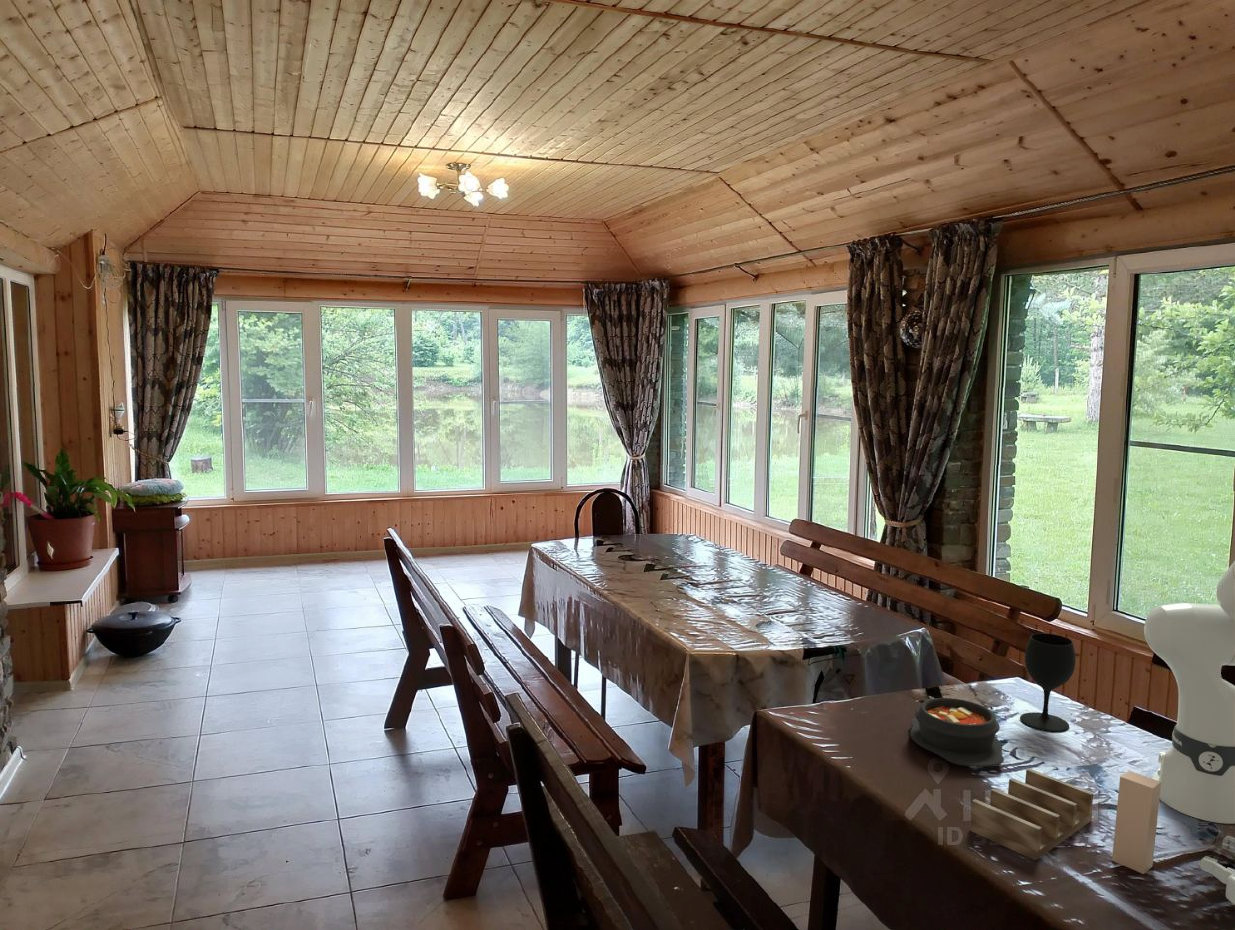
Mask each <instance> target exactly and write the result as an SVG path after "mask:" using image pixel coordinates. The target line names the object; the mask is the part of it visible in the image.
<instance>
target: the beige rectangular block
mask: <svg viewBox="0 0 1235 930" xmlns="http://www.w3.org/2000/svg"><path fill="white" fill-rule="evenodd" d="M1152 778H1153V777H1152ZM1152 778H1151V777H1149V776H1147V775H1143V774H1140V773H1138V772H1134V771H1131V770H1127V771H1126V772H1125V773H1123V774H1122V775H1120V776H1119V784H1118V785H1119V786H1118V796H1117V805H1116V816H1115V823H1114V824H1115V826H1114V836H1113V846H1112V857H1111V861H1112V862H1115V863H1117V864H1120V865H1122V866H1124V867H1126V868H1128V869H1131V870H1134V871H1136V872H1138V873H1140V874H1143V875H1144V874H1146V873H1147V872H1148V871H1149V870H1151V869H1152V868H1153V864H1154V857H1155V855H1154V854H1155V847H1156V846H1155V844H1156V835H1157V827H1158V825H1157V824H1158V817H1159V809H1160V790H1161V782H1160V781H1157V780H1154V779H1152Z"/></svg>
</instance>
